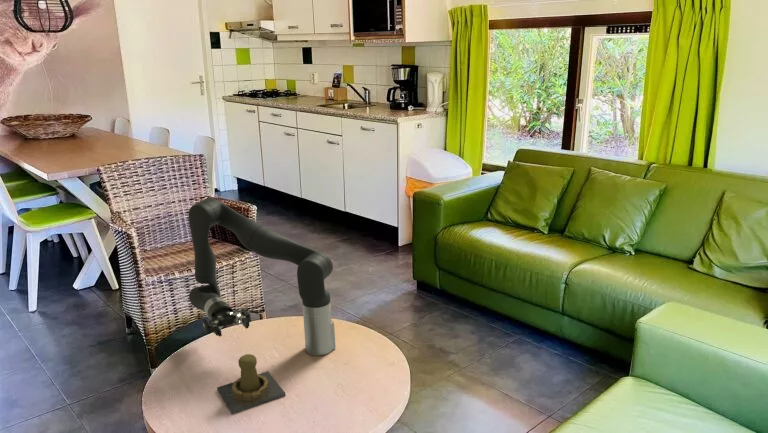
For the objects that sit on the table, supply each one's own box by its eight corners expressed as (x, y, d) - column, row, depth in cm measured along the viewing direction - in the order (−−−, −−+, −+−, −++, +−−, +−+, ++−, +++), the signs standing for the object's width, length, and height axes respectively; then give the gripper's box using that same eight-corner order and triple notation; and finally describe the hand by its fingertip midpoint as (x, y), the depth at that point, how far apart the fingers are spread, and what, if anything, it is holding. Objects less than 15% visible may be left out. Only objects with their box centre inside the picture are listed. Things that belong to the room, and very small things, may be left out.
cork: (255, 396, 167) (252, 363, 164) (236, 394, 168) (232, 361, 165) (264, 385, 172) (261, 352, 169) (245, 383, 174) (242, 350, 170)
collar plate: (268, 374, 180) (267, 365, 179) (285, 395, 169) (284, 386, 168) (217, 390, 172) (216, 381, 171) (231, 414, 161) (230, 405, 160)
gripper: (195, 306, 187) (209, 325, 174) (238, 295, 194) (254, 312, 181) (198, 327, 189) (212, 347, 176) (240, 315, 196) (257, 333, 183)
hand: (234, 329), depth 178 cm, fingers open, 8 cm apart
